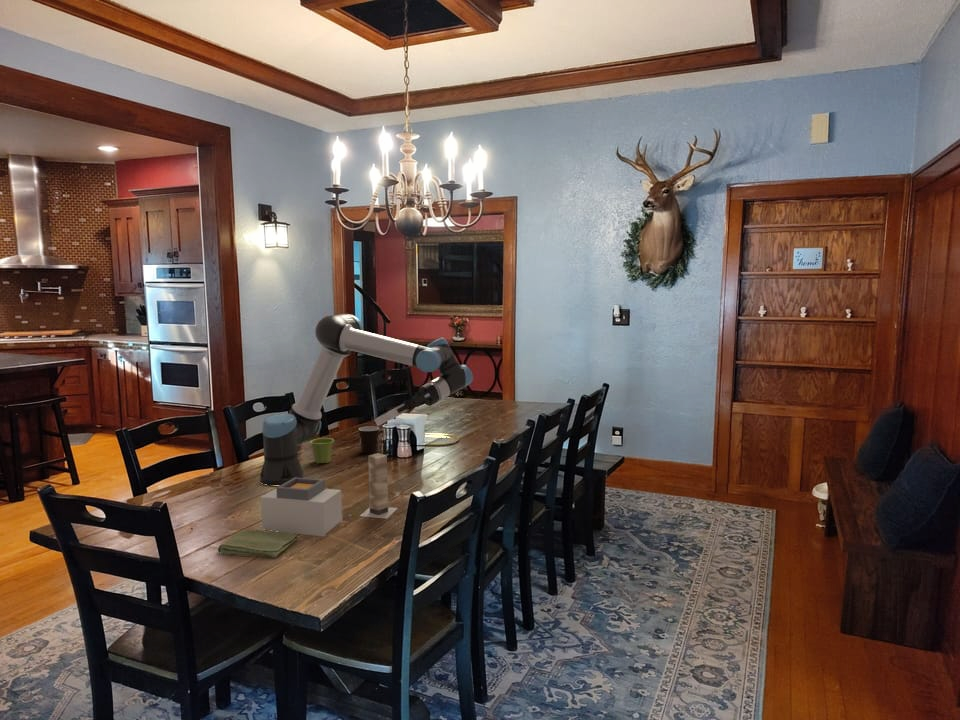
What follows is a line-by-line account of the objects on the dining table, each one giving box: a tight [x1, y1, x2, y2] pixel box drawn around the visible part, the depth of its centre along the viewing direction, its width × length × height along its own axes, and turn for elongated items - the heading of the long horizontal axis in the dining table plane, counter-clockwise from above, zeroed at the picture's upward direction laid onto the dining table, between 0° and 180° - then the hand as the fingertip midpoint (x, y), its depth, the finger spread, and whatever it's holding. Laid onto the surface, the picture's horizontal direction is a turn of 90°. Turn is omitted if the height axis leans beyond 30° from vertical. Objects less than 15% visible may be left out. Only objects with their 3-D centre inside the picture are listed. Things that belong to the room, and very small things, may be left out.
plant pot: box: [309, 437, 335, 464], centre depth 250 cm, size 9×9×9 cm
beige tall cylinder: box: [367, 452, 389, 515], centre depth 192 cm, size 4×4×18 cm
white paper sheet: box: [359, 506, 399, 520], centre depth 193 cm, size 9×9×1 cm
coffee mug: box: [358, 425, 380, 454], centre depth 266 cm, size 12×9×10 cm
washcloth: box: [217, 529, 298, 559], centre depth 169 cm, size 13×18×3 cm
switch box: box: [260, 477, 343, 537], centre depth 183 cm, size 20×11×13 cm, turn 76°
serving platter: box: [381, 433, 460, 447], centre depth 283 cm, size 19×35×2 cm, turn 84°
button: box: [290, 483, 314, 489], centre depth 183 cm, size 6×6×3 cm
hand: (382, 419), depth 205 cm, fingers open, 13 cm apart
